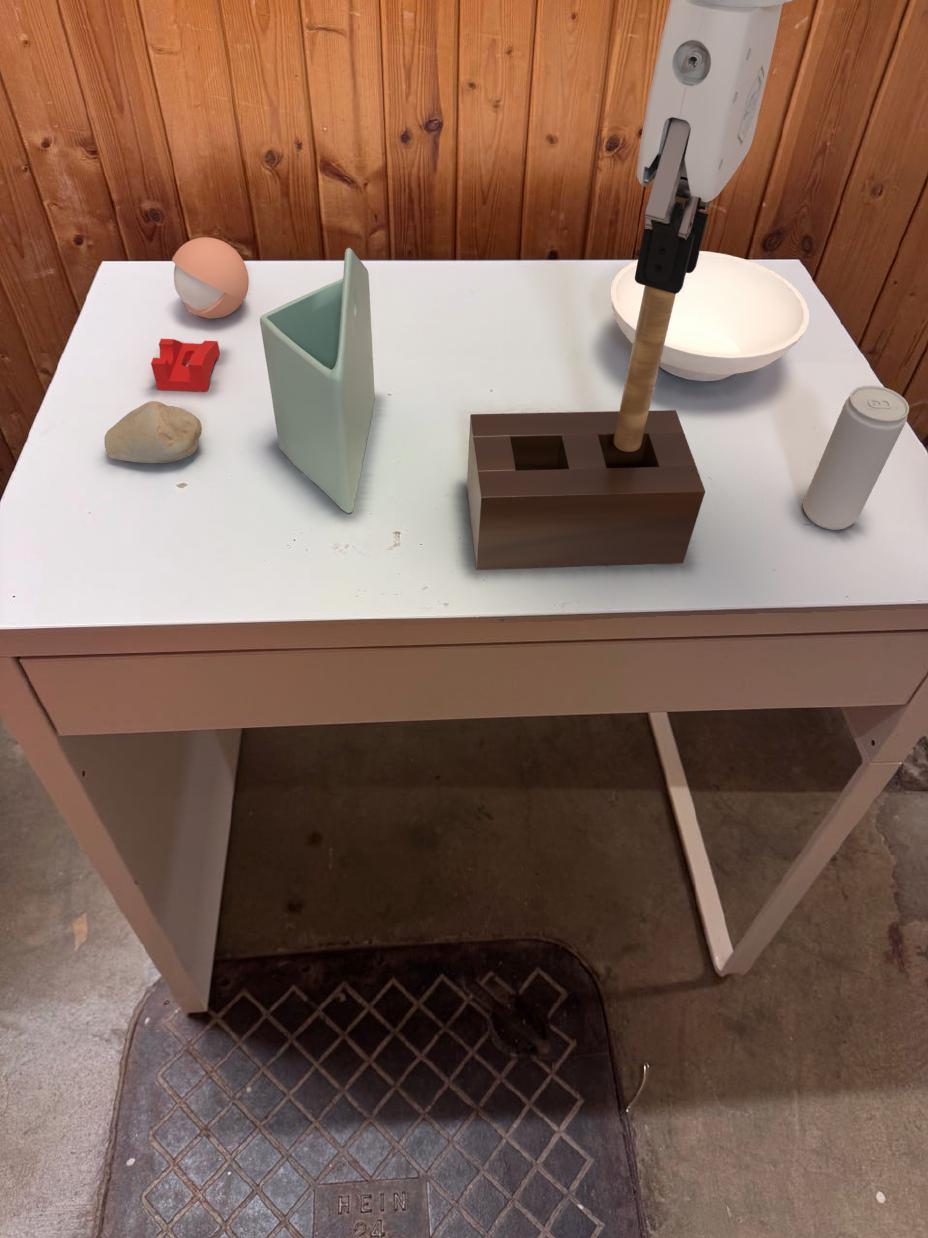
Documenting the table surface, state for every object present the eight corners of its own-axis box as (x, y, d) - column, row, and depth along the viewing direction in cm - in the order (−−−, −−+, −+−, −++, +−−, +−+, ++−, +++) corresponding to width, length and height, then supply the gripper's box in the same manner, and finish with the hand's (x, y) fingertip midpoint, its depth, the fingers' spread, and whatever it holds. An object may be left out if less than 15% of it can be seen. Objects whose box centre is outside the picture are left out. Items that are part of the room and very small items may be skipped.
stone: (156, 503, 84) (213, 443, 81) (94, 462, 80) (152, 398, 77) (159, 465, 89) (213, 409, 86) (101, 425, 85) (155, 365, 83)
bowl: (594, 404, 91) (604, 343, 86) (605, 299, 104) (615, 240, 98) (795, 428, 90) (818, 368, 84) (782, 319, 102) (801, 261, 97)
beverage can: (794, 495, 83) (841, 383, 74) (847, 496, 84) (900, 384, 74) (808, 532, 80) (858, 420, 71) (863, 533, 80) (919, 422, 71)
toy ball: (166, 307, 99) (149, 236, 93) (229, 284, 103) (217, 215, 97) (203, 341, 96) (188, 270, 90) (267, 316, 99) (257, 246, 93)
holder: (683, 563, 77) (705, 491, 71) (476, 569, 76) (481, 497, 70) (657, 481, 84) (676, 409, 78) (466, 486, 83) (470, 413, 77)
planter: (294, 393, 90) (269, 192, 75) (375, 398, 90) (365, 198, 75) (261, 508, 80) (224, 300, 65) (353, 513, 80) (336, 307, 65)
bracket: (207, 391, 90) (201, 365, 88) (157, 389, 90) (150, 363, 88) (219, 353, 94) (214, 327, 92) (172, 351, 94) (166, 325, 92)
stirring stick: (644, 439, 74) (702, 191, 59) (635, 455, 73) (692, 205, 58) (618, 431, 75) (669, 182, 59) (609, 446, 73) (659, 196, 58)
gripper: (766, 9, 43) (681, 351, 57) (837, -72, 52) (749, 239, 66) (615, -20, 45) (568, 318, 59) (710, -93, 54) (650, 213, 68)
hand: (665, 274), depth 63 cm, fingers closed on stirring stick, 2 cm apart
